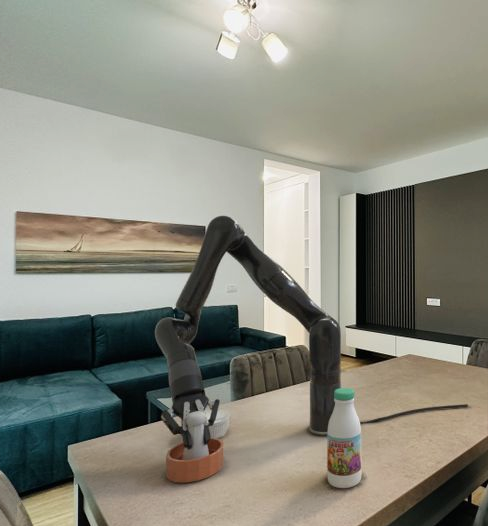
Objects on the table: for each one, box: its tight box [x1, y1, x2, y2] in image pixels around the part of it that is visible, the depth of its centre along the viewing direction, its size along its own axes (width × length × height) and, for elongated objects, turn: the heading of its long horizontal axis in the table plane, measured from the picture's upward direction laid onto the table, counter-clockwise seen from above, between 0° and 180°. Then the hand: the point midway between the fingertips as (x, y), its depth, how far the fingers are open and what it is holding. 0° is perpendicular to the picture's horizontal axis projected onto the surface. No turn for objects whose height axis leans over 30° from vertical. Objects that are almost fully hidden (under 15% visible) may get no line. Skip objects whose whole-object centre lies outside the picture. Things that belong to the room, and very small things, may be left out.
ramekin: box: [204, 409, 231, 439], centre depth 108 cm, size 11×11×5 cm
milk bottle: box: [326, 387, 363, 489], centre depth 85 cm, size 8×8×20 cm
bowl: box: [165, 438, 225, 483], centre depth 89 cm, size 12×12×5 cm
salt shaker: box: [182, 411, 209, 460], centre depth 89 cm, size 6×6×13 cm
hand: (198, 445), depth 87 cm, fingers closed on salt shaker, 3 cm apart
